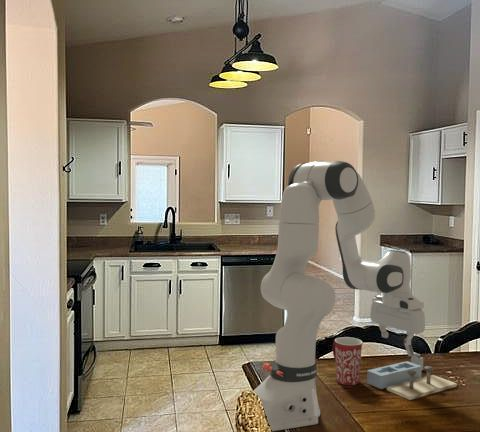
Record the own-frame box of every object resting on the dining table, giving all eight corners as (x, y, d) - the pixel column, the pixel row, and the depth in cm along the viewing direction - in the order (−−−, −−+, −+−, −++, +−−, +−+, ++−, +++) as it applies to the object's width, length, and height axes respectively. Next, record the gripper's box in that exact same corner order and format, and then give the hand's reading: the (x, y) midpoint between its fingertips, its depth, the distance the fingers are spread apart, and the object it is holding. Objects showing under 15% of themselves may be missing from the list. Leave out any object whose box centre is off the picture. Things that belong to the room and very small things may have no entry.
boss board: (409, 400, 151) (410, 379, 151) (386, 390, 159) (387, 370, 158) (456, 386, 162) (457, 367, 162) (433, 377, 170) (433, 359, 170)
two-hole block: (380, 389, 159) (381, 375, 159) (366, 383, 165) (367, 370, 164) (421, 378, 169) (421, 366, 169) (406, 373, 174) (407, 361, 174)
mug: (367, 384, 163) (368, 343, 163) (343, 388, 160) (343, 345, 160) (346, 372, 175) (347, 333, 175) (323, 374, 172) (323, 335, 172)
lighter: (423, 370, 178) (423, 347, 178) (420, 370, 177) (420, 348, 177) (407, 364, 184) (408, 342, 184) (404, 364, 183) (404, 343, 183)
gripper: (366, 294, 173) (365, 334, 174) (414, 306, 156) (414, 350, 156) (379, 293, 177) (378, 332, 177) (428, 303, 159) (427, 347, 160)
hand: (395, 340), depth 167 cm, fingers open, 8 cm apart
